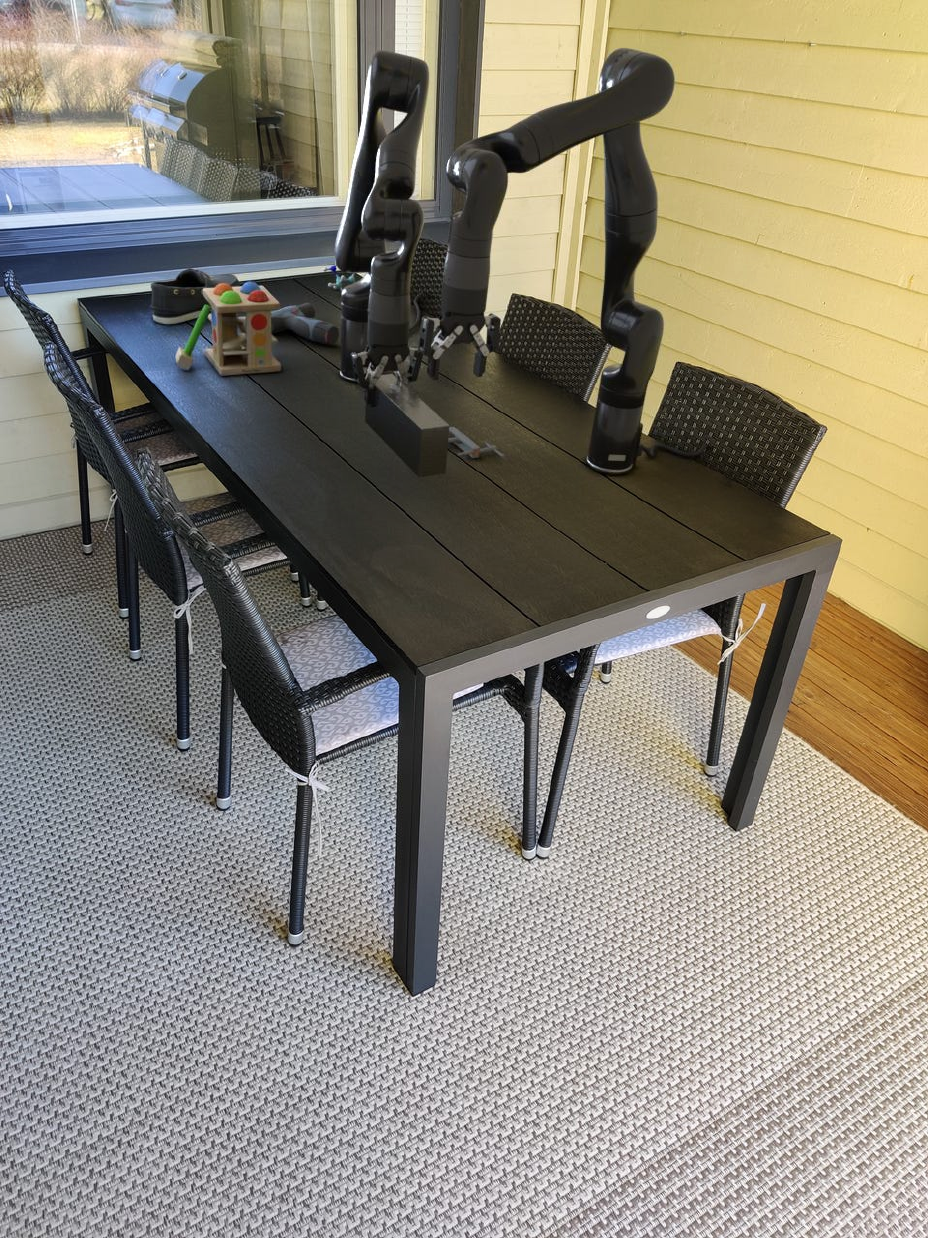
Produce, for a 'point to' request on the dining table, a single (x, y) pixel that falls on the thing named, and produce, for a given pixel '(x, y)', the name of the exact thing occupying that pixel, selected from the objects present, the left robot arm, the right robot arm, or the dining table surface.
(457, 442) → the clamp
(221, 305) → the pounding bench toy
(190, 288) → the boat shoe
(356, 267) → the left robot arm
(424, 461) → the bar
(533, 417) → the dining table surface
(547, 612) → the dining table surface
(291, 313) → the power drill
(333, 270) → the molecular model
